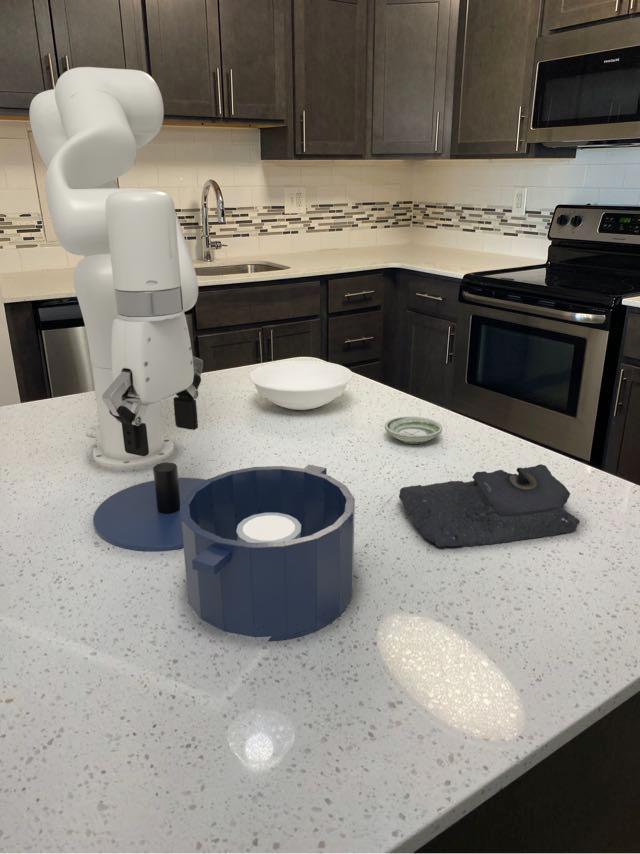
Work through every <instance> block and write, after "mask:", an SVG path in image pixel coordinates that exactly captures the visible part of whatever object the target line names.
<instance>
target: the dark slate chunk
mask: <svg viewBox="0 0 640 854" xmlns="http://www.w3.org/2000/svg"><path fill="white" fill-rule="evenodd" d="M516 472H517V473H510V472H507V471H504V470H503V469H497V470H494V471H491V472H487V471H475V473H474V474H473V475H472V479H473V480H470V481H466V482H465V481H463V480H449V481H445V482H440V483H439V482H438V483H431V484H427V485H422V484H417V485H409V486H403V487H400V489H399V494H398V498H399V500H400V501H401V503H402V505H403V508H404V510H405V511H406V512H407V513H408V514H409V516H410V517H411V519H412V522H413V524H414V526H415V527H416V528H417V529H418V530H419V532H420V533H421V534H422V536H423V538H425V539H427V540H428V541H429V542H430V543H433V544H435V545H436V546H437V547H459V548H464V547H474V546H482V545H494V544H498V543H501V544H503V543H510V542H516V541H523V540H524V541H525V540H529V539H537V538H541V537H543V538H544V537H548V536H556V535H557V536H558V535H561V534H567V533H571V532H574V531H575V530H576V529H577V528H578V524H579V523H580V522H581V521H580V518H577V517H575V515H573V514H571V513H570V512H569V511H567V510H566V509H564V506H565V505H567V502H568V500H569V498H570V495H571V492H570V491H569V490H568V488H567V487H566V486H565V484H564V483H562V482H561V481H560V480H558V479H557V478H556V477H555V476H554V475H553V474H552V472H551V471H550V470H549V468H548V466H546V465H545V464H537V465H533V466H528V467H517V468H516Z"/></svg>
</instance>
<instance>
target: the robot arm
mask: <svg viewBox="0 0 640 854" xmlns="http://www.w3.org/2000/svg"><path fill="white" fill-rule="evenodd" d="M55 83H56V84H55V86H54V89H48V90H44V91H40V92H39V93H38V94H36V95H35V96H34V97H33V99H32V100H31V102H30V106H29V112H28V113H29V122H30V128H31V132H32V136H33V139H34V143H35V146H36V149H37V152H38V154H39V156H40V159H41V160H42V163H43V164H44V166H45V167H46V173H45V180H44V181H45V182H44V191H45V197H46V203H47V207H48V211H49V216H50V219H51V223H52V224H51V225H52V228H53V232H54V234H55V236H56V239H57V242H58V243H59V245H60V246H61V248H63V249H64V250H65V251H66V252H68V253H70V254H73V255H76V256H83V258H82V259H80V260H79V261H78V262H77V264H76V265H75V266H74V270H73V274H72V275H73V276H72V278H73V279H72V280H73V287H74V291H75V295H76V299H77V301H78V305H79V309H80V311H81V315H82V319H83V320H82V321H83V323H84V328H85V333H86V337H87V344H88V350H89V351H88V352H89V359H90V364H91V371H92V379H93V386H94V394H95V401H96V410H97V418H98V420H93V421H92V422H91V423H90V426H89V428H87V429H86V431H85V436H86V437H87V438H91V439H92V438H93V439H96V446H95V447H94V449H93V451H92V459H93V461H94V462H96V463H97V464H98V465H100V466H103V467H108V468H114V469H115V468H116V469H134V468H141V467H146V466H149V465H150V466H151V465H154V464H158V463H159V462H160V463H161V462H162V461H164V460H166V459H168V458H169V457H170V456H172V454H173V453H174V451H175V443H174V442H173V440H172V439H170V438H168V437H166V436H164V429H163V419H162V417H163V416H162V407H161V401H163V400H165V399H168V398H170V397H172V396H174V397H172V398H173V411H174V423H175V426H176V427H177V428H180V429H186V430H191V431H195V430H197V429H199V422H198V421H199V420H198V410H197V399H198V398H199V395H200V393H199V390H198V389H199V387H200V385H201V382H202V377H201V375H202V373H203V368H204V367H203V366H204V361H203V359H201V358H199V357H196V356H195V355H193V350H192V343H191V337H190V330H189V327H188V323H187V317H186V314H185V312H188V311H190V310H191V309H192V308H193V307H194V306H195V305H196V304H197V301H198V298H199V282H198V277H197V272H196V269H195V266H194V261H193V259H192V257H191V253H190V249H189V247H188V244H187V241H186V238H185V235H184V232H183V229H182V226H181V223H180V220H179V217H178V215H177V212H176V208H175V202H174V200H173V198H172V196H171V195H170V194H168V193H167V192H164V191H161V190H158V189H154V188H144V187H143V188H141V187H140V188H139V187H138V188H121V187H120V188H119V186H118V183H117V180H116V179H118V178H120V177H122V176H123V175H125V174H126V173H128V171H129V170H130V169H131V168H132V166H133V165H134V163H135V161H136V157H137V154H138V153H137V152H138V149H141V148H143V147H145V146H146V145H147V144H149V143H150V142H151V141H153V139H154V138H155V137H156V136H157V135H158V134H159V132H160V131H161V129H162V126H163V123H164V116H165V108H164V100H163V96H162V93H161V91H160V88H159V85H158V84H157V83H156V81H155V80H154V78H153V77H152V76H151V75H150V74H149V73H147V72H145V71H143V70H138V69H128V68H112V67H110V68H108V67H97V66H95V67H94V66H80V67H74V68H71V69H68V70H66V71H64V72H63V73H62V74H61V75H60V76H59V78H58V79H57V81H56V82H55ZM175 395H176V396H175Z"/></svg>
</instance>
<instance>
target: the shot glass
mask: <svg viewBox="0 0 640 854" xmlns="http://www.w3.org/2000/svg"><path fill="white" fill-rule="evenodd" d="M236 533H237V539H238V541H243V542H250V543H260V542H284V541H288V540H293V539H297V538H300V534H301V524H300V523H299V521H298V520H297V519H296V518H294V517H292V516H290V515H286V514H282V513H261V514H256V515H252V516H250V517H248V518H245V519H244V520H243V521H241V522H240V523H239V524H238V526H237V530H236Z"/></svg>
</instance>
